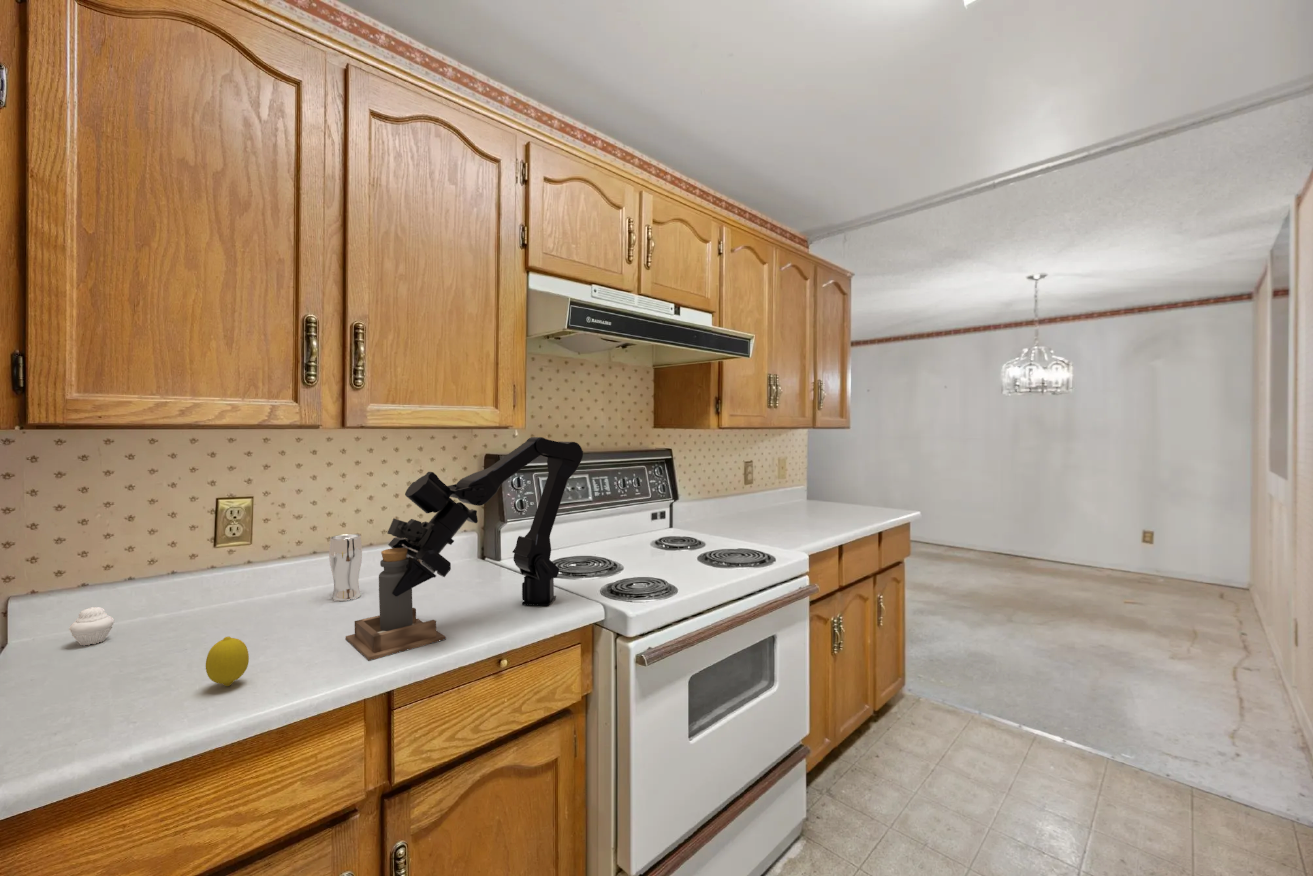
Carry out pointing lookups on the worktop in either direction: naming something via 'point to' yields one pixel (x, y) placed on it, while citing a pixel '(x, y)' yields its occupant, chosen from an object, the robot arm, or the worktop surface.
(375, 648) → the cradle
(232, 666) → the lemon
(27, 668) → the worktop surface
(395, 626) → the bottle
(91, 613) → the muffin
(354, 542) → the beer glass
